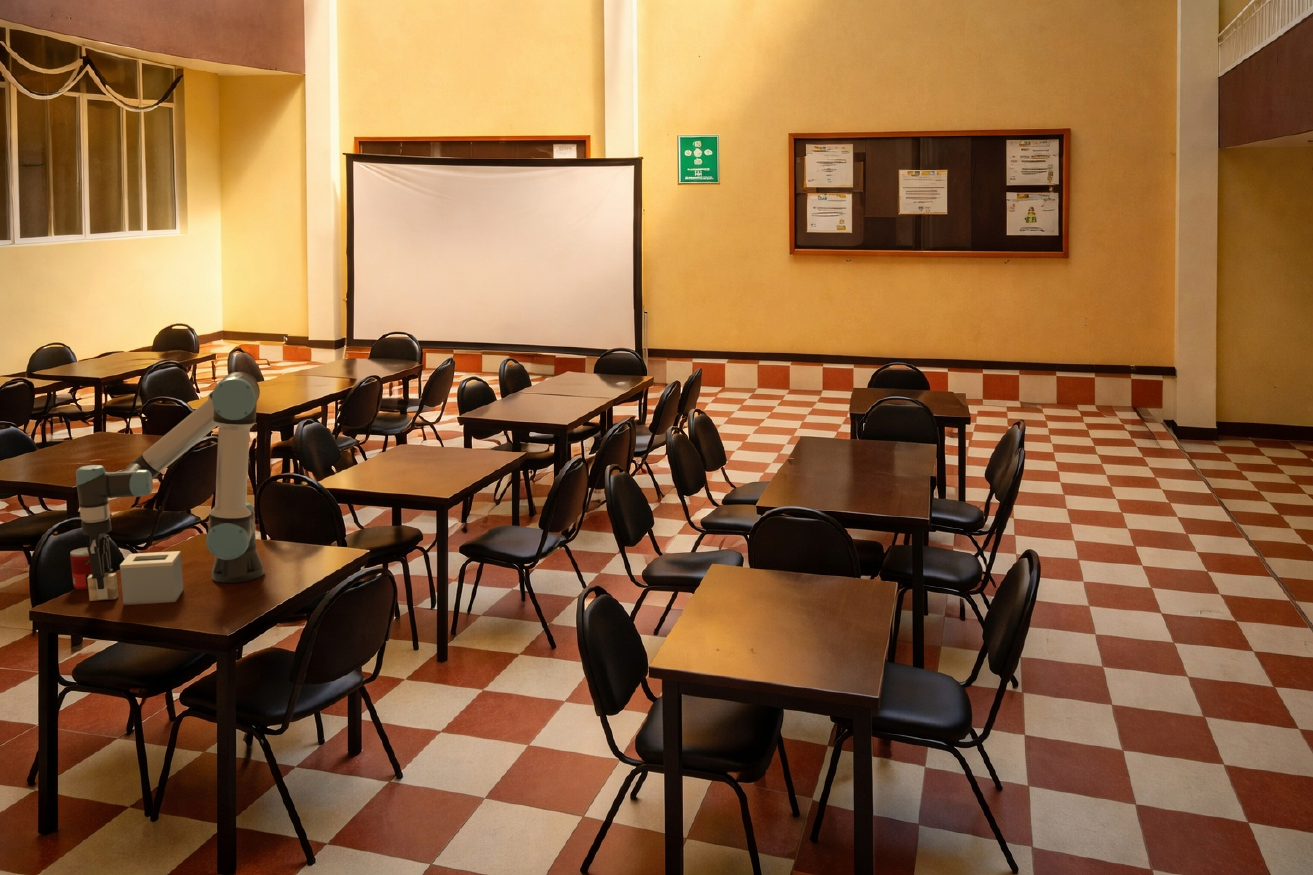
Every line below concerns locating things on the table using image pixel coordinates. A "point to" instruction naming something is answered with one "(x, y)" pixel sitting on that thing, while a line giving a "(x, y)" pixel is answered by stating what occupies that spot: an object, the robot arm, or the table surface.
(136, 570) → the box
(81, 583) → the canned food
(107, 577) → the block
